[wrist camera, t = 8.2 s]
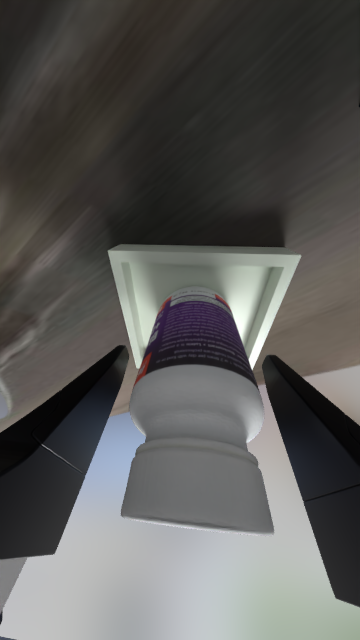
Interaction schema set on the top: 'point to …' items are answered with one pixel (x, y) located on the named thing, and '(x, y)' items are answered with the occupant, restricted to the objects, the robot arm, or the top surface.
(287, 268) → the tray
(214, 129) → the top surface
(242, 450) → the pill bottle
